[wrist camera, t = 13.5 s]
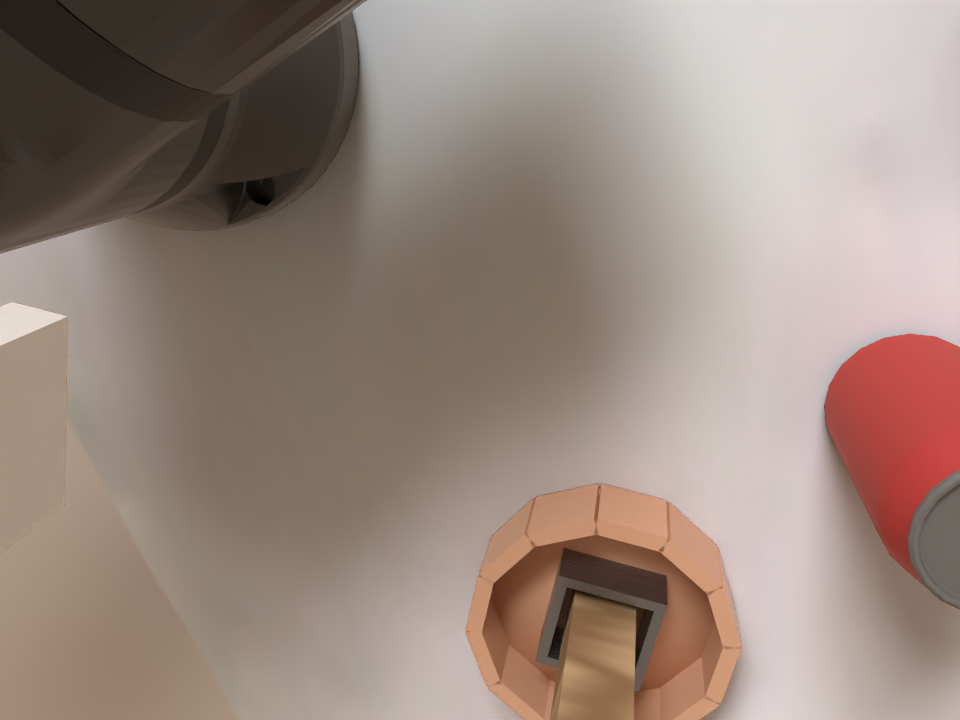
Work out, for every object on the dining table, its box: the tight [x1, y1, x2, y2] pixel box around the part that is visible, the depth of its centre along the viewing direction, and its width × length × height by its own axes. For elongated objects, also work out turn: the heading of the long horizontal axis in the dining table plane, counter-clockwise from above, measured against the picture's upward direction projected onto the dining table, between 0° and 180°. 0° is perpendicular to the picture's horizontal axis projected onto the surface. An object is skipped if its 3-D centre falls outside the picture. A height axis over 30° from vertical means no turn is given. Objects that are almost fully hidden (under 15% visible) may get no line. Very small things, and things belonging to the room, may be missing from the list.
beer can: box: [824, 334, 960, 609], centre depth 32 cm, size 7×7×12 cm
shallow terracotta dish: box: [466, 483, 741, 720], centre depth 42 cm, size 13×13×4 cm
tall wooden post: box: [550, 589, 636, 720], centre depth 36 cm, size 3×3×14 cm
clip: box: [536, 548, 668, 692], centre depth 42 cm, size 5×5×2 cm
